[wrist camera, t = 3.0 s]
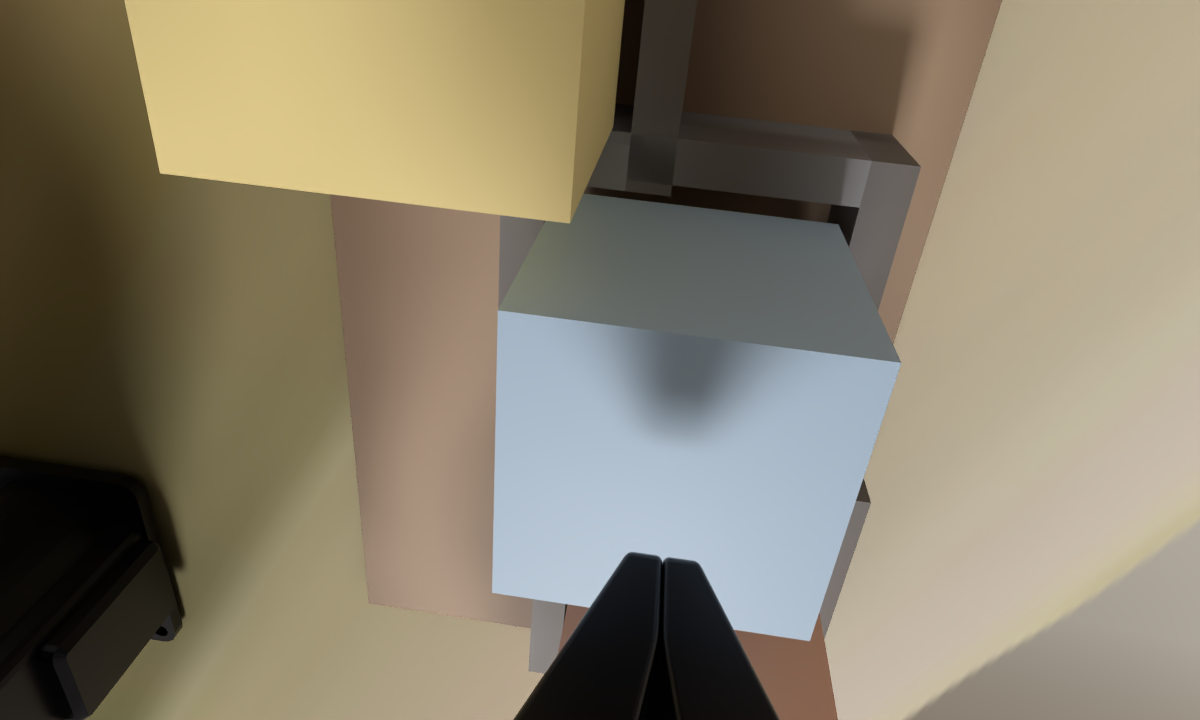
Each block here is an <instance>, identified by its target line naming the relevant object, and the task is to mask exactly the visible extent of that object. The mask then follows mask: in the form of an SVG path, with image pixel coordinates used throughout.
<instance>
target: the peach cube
mask: <svg viewBox="0 0 1200 720" xmlns="http://www.w3.org/2000/svg"><path fill="white" fill-rule="evenodd" d="M588 609H589V607H582V606H575V605H569V604H568V605H567V610H566V615H565V620H564V625H563V630H562V635H561V640H560V645H559V650H558V653H559V652H560V650H561V649H562V648H563V646H564V645H565V643H566V642H567V640H568V639H569V637H570V636H571V634H572V633H573V631H574V630H575V628H576V627H577V625H578V624H579V622H580V621H581V619H582V618H583V617H584V615H585V614H586V612H587V611H588ZM734 631H735V633H736V635H737V637H738V639H739V641H740V643H741V645H742V647H743V649H744V650H745V652H746V654H747V656H748V658H749V660H750V662H751V664H752V666H753V668H754V670H755V672H756V674H757V676H758V678H759V680H760V682H761V683H762V685H763V687H764V689H765V691H766V693H767V695H768V697H769V699H770V701H771V703H772V705H773V707H774V709H775V711H776V713H777V715H778V716H779V718H780V720H838V718H837V712H836V706H835V700H834V695H833V689H832V683H831V677H830V671H829V665H828V659H827V653H826V647H825V642H824V636H823V630H822V624H821V618H820V612H819V615H818V618H817V621H816V624H815V627H814V630H813V633H812V636H811V639H810V641H805V640H799V639H792V638H785V637H779V636H772V635H766V634H759V633H753V632H746V631H739V630H734Z"/></svg>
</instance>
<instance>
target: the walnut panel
mask: <svg viewBox="0 0 1200 720" xmlns="http://www.w3.org/2000/svg"><path fill="white" fill-rule="evenodd" d="M1001 2H1002V0H625V5H624V16H623V27H622V38H621V49H620V59H619V70H618V81H617V92H616V103H615V113H614V124H613V128H612V130H611V133H610V135H609V137H608V139H607V142H606V144H605V146H604V148H603V151H602V153H601V155H600V157H599V160H598V162H597V164H596V166H595V169H594V171H593V173H592V175H591V177H590V180H589V182H588V184H587V186H586V189H585V191H584V193H583V194H591V195H599V196H608V197H616V198H624V199H632V200H641V201H649V202H657V203H666V204H674V205H682V206H691V207H699V208H707V209H715V210H724V211H732V212H740V213H749V214H757V215H765V216H774V217H782V218H790V219H798V220H807V221H815V222H823V223H832V224H838V225H839V227H840V229H841V231H842V233H843V236H844V238H845V240H846V242H847V244H848V247H849V249H850V251H851V253H852V255H853V258H854V260H855V262H856V264H857V266H858V269H859V271H860V273H861V275H862V277H863V280H864V282H865V284H866V286H867V288H868V291H869V293H870V295H871V297H872V299H873V302H874V304H875V306H876V308H877V311H878V313H879V315H880V317H881V319H882V322H883V324H884V326H885V328H886V330H887V333H888V335H889V337H890V339H891V341H892V344H893V342H894V339H895V336H896V333H897V330H898V327H899V323H900V320H901V317H902V314H903V311H904V308H905V305H906V301H907V298H908V295H909V292H910V289H911V286H912V283H913V279H914V276H915V273H916V270H917V267H918V264H919V261H920V257H921V254H922V251H923V248H924V245H925V242H926V238H927V235H928V232H929V229H930V226H931V223H932V220H933V216H934V213H935V210H936V207H937V204H938V201H939V198H940V194H941V191H942V188H943V185H944V182H945V179H946V176H947V172H948V169H949V166H950V163H951V160H952V157H953V154H954V150H955V147H956V144H957V141H958V138H959V135H960V131H961V128H962V125H963V122H964V119H965V116H966V113H967V109H968V106H969V103H970V100H971V97H972V94H973V91H974V87H975V84H976V81H977V78H978V75H979V72H980V69H981V65H982V62H983V59H984V56H985V53H986V50H987V47H988V43H989V40H990V37H991V34H992V31H993V28H994V24H995V21H996V18H997V15H998V12H999V9H1000V6H1001ZM330 195H331V206H332V217H333V227H334V238H335V248H336V259H337V270H338V280H339V291H340V301H341V312H342V323H343V333H344V344H345V354H346V365H347V376H348V386H349V397H350V408H351V418H352V429H353V439H354V450H355V461H356V471H357V482H358V492H359V503H360V514H361V524H362V535H363V545H364V556H365V567H366V577H367V588H368V599H369V603H371V604H377V605H383V606H390V607H396V608H403V609H409V610H416V611H422V612H429V613H435V614H442V615H448V616H455V617H461V618H468V619H474V620H480V621H487V622H493V623H500V624H506V625H513V626H519V627H526V628H531V639H530V656H529V671H532V672H538V673H546V671H547V670H548V668H549V667H550V665H551V664H552V662H553V661H554V659H555V658H556V656H557V655H558V650H559V645H560V640H561V635H562V630H563V625H564V620H565V615H566V610H567V605H568V604H562V603H556V602H549V601H543V600H536V599H530V598H523V597H516V596H510V595H503V594H497V593H492V570H493V521H494V472H495V423H496V374H497V325H498V309H499V307H500V305H501V303H502V301H503V300H504V298H505V296H506V294H507V292H508V290H509V288H510V286H511V285H512V283H513V281H514V279H515V277H516V275H517V273H518V271H519V270H520V268H521V266H522V264H523V262H524V260H525V258H526V257H527V255H528V253H529V251H530V249H531V247H532V245H533V243H534V242H535V240H536V238H537V236H538V234H539V232H540V230H541V228H542V227H543V225H544V223H545V221H544V220H536V219H528V218H520V217H512V216H504V215H495V214H487V213H479V212H471V211H463V210H455V209H447V208H439V207H430V206H422V205H414V204H406V203H398V202H390V201H382V200H373V199H365V198H357V197H349V196H341V195H333V194H330ZM870 504H871V502H870V499H869V495H868V492H867V488H866V485H865V481H864V478H863V481H862V484H861V487H860V490H859V493H858V496H857V499H856V502H855V505H854V508H853V511H852V514H851V517H850V520H849V523H848V526H847V530H846V533H845V536H844V539H843V542H842V545H841V548H840V551H839V554H838V557H837V560H836V563H835V566H834V569H833V572H832V575H831V578H830V581H829V584H828V587H827V590H826V593H825V596H824V600H823V603H822V606H821V609H820V618H821V624H822V630H823V636H824V638H825V635H826V632H827V630H828V627H829V624H830V621H831V618H832V615H833V612H834V609H835V606H836V603H837V600H838V597H839V594H840V591H841V589H842V586H843V583H844V580H845V577H846V574H847V571H848V568H849V565H850V562H851V559H852V556H853V553H854V551H855V548H856V545H857V542H858V539H859V536H860V533H861V530H862V527H863V524H864V521H865V518H866V515H867V513H868V510H869V507H870Z"/></svg>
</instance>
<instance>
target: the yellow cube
mask: <svg viewBox="0 0 1200 720" xmlns="http://www.w3.org/2000/svg"><path fill="white" fill-rule="evenodd" d="M125 5H126V10H127V15H128V20H129V25H130V29H131V34H132V39H133V44H134V49H135V54H136V59H137V63H138V68H139V73H140V78H141V83H142V88H143V92H144V97H145V102H146V107H147V112H148V117H149V122H150V126H151V131H152V136H153V141H154V146H155V151H156V155H157V160H158V165H159V170H160V173H162V174H170V175H178V176H186V177H194V178H203V179H211V180H219V181H227V182H235V183H243V184H251V185H260V186H268V187H276V188H284V189H292V190H300V191H308V192H317V193H325V194H333V195H341V196H349V197H357V198H365V199H373V200H382V201H390V202H398V203H406V204H414V205H422V206H430V207H439V208H447V209H455V210H463V211H471V212H479V213H487V214H495V215H504V216H512V217H520V218H528V219H536V220H544V221H552V222H561V223H569V224H570V222H571V220H572V218H573V216H574V213H575V211H576V209H577V207H578V204H579V202H580V200H581V198H582V195H583V193H584V191H585V189H586V186H587V184H588V182H589V180H590V177H591V175H592V173H593V171H594V169H595V166H596V164H597V162H598V160H599V157H600V155H601V153H602V151H603V148H604V146H605V144H606V142H607V139H608V137H609V135H610V133H611V130H612V128H613V124H614V113H615V103H616V92H617V81H618V70H619V59H620V49H621V38H622V27H623V16H624V5H625V0H125Z"/></svg>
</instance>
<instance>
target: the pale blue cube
mask: <svg viewBox="0 0 1200 720" xmlns="http://www.w3.org/2000/svg"><path fill="white" fill-rule="evenodd" d="M900 365H901V361H900V359H899V357H898V355H897V352H896V350H895V348H894V346H893V344H892V341H891V339H890V337H889V335H888V333H887V330H886V328H885V326H884V324H883V322H882V319H881V317H880V315H879V313H878V311H877V308H876V306H875V304H874V302H873V299H872V297H871V295H870V293H869V291H868V288H867V286H866V284H865V282H864V280H863V277H862V275H861V273H860V271H859V269H858V266H857V264H856V262H855V260H854V258H853V255H852V253H851V251H850V249H849V247H848V244H847V242H846V240H845V238H844V236H843V233H842V231H841V229H840V227H839V225H838V224H832V223H823V222H815V221H807V220H798V219H790V218H782V217H774V216H765V215H757V214H749V213H740V212H732V211H724V210H715V209H707V208H699V207H691V206H682V205H674V204H666V203H657V202H649V201H641V200H632V199H624V198H616V197H608V196H599V195H591V194H583V195H582V198H581V200H580V202H579V204H578V207H577V209H576V211H575V213H574V216H573V218H572V220H571V222H570V224H569V223H561V222H552V221H545V223H544V225H543V227H542V228H541V230H540V232H539V234H538V236H537V238H536V240H535V242H534V243H533V245H532V247H531V249H530V251H529V253H528V255H527V257H526V258H525V260H524V262H523V264H522V266H521V268H520V270H519V271H518V273H517V275H516V277H515V279H514V281H513V283H512V285H511V286H510V288H509V290H508V292H507V294H506V296H505V298H504V300H503V301H502V303H501V305H500V307H499V309H498V325H497V374H496V423H495V472H494V521H493V570H492V593H497V594H503V595H510V596H516V597H523V598H530V599H536V600H543V601H549V602H556V603H562V604H569V605H575V606H582V607H589V608H590V606H591V605H592V603H593V602H594V600H595V599H596V597H597V596H598V594H599V593H600V591H601V590H602V589H603V587H604V586H605V584H606V583H607V581H608V580H609V578H610V577H611V575H612V574H613V572H614V571H615V569H616V568H617V566H618V565H619V563H620V562H621V561H622V559H623V558H624V556H625V555H626V554H627V553H629V552H637V553H644V554H651V555H657V556H659V557H660V558H661V559H662V563H663V560H664V559H665V558H667V557H672V558H679V559H686V560H692V561H696V562H697V563H699V564H700V566H701V567H702V569H703V571H704V573H705V575H706V577H707V579H708V581H709V583H710V584H711V586H712V588H713V590H714V592H715V594H716V596H717V598H718V600H719V602H720V604H721V606H722V608H723V610H724V612H725V614H726V616H727V617H728V619H729V621H730V623H731V625H732V627H733V629H734V630H739V631H746V632H753V633H759V634H766V635H772V636H779V637H785V638H792V639H799V640H805V641H810V639H811V636H812V633H813V630H814V627H815V624H816V621H817V618H818V615H819V612H820V609H821V606H822V603H823V600H824V596H825V593H826V590H827V587H828V584H829V581H830V578H831V575H832V572H833V569H834V566H835V563H836V560H837V557H838V554H839V551H840V548H841V545H842V542H843V539H844V536H845V533H846V530H847V526H848V523H849V520H850V517H851V514H852V511H853V508H854V505H855V502H856V499H857V496H858V493H859V490H860V487H861V484H862V481H863V478H864V475H865V472H866V469H867V466H868V463H869V460H870V457H871V453H872V450H873V447H874V444H875V441H876V438H877V435H878V432H879V429H880V426H881V423H882V420H883V417H884V414H885V411H886V408H887V405H888V402H889V399H890V396H891V393H892V390H893V387H894V383H895V380H896V377H897V374H898V371H899V368H900Z"/></svg>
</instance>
